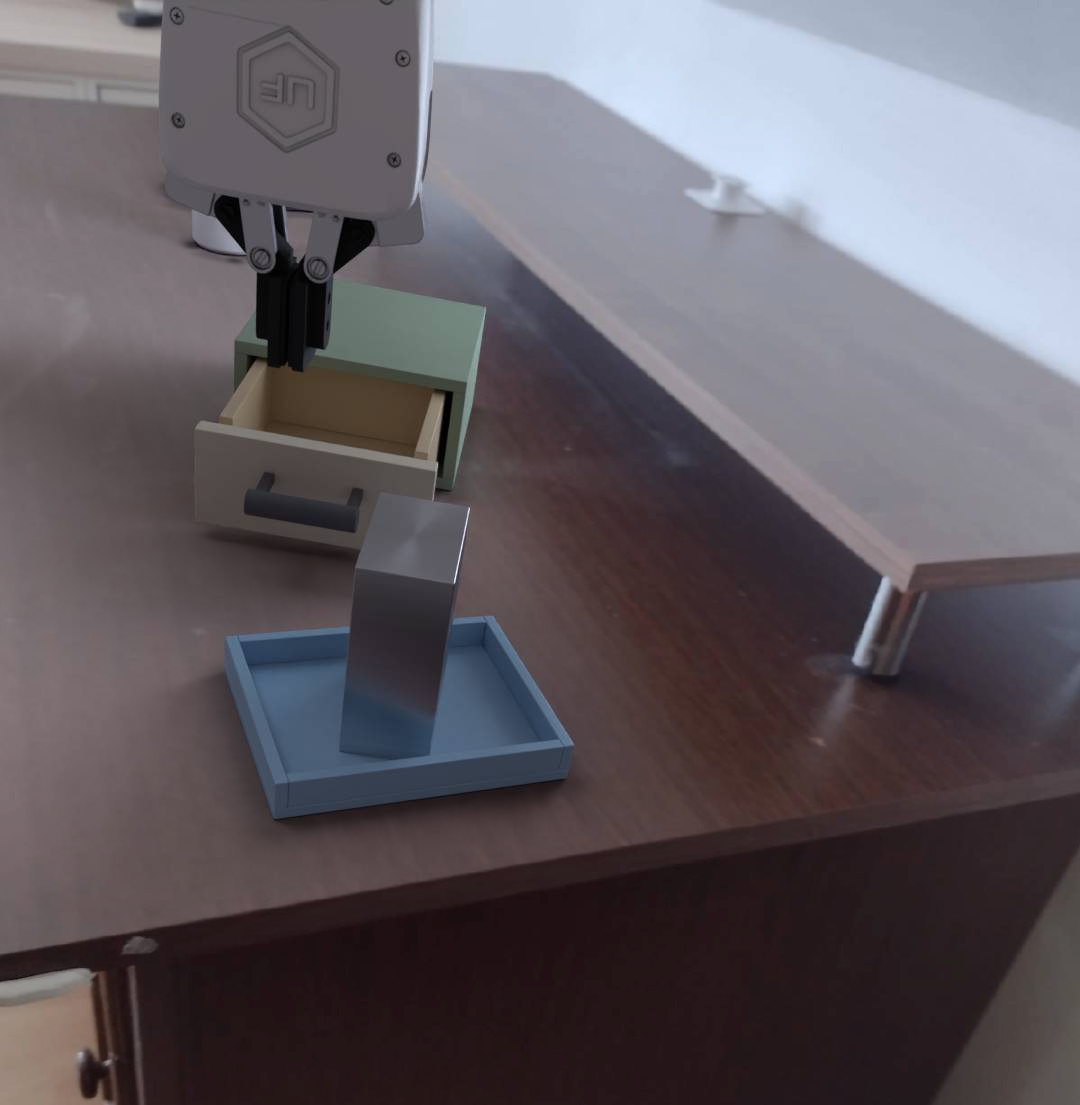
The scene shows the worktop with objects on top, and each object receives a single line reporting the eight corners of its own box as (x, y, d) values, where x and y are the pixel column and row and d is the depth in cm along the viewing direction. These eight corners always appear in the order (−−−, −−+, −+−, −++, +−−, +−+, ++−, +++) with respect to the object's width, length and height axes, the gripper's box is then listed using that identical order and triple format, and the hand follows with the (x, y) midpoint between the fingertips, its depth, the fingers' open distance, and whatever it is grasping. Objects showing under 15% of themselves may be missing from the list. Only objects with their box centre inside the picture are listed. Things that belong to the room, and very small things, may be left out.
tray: (273, 820, 52) (275, 783, 51) (224, 670, 60) (224, 635, 58) (567, 778, 58) (575, 745, 56) (487, 646, 65) (492, 614, 64)
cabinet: (452, 491, 79) (467, 382, 75) (232, 452, 78) (234, 339, 74) (472, 405, 91) (486, 306, 86) (280, 371, 90) (285, 269, 85)
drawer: (416, 595, 67) (427, 503, 63) (175, 554, 66) (173, 458, 62) (448, 462, 80) (459, 380, 77) (250, 427, 80) (252, 342, 76)
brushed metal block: (338, 751, 55) (354, 566, 49) (362, 666, 61) (380, 491, 55) (428, 766, 56) (455, 583, 50) (444, 679, 61) (470, 506, 55)
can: (222, 228, 114) (223, 90, 107) (278, 248, 112) (283, 109, 105) (177, 241, 109) (175, 97, 102) (235, 261, 107) (237, 116, 100)
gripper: (59, -183, 39) (95, 360, 50) (511, -94, 40) (449, 420, 51) (132, -181, 45) (150, 303, 56) (523, -103, 46) (465, 358, 57)
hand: (292, 358), depth 53 cm, fingers closed
